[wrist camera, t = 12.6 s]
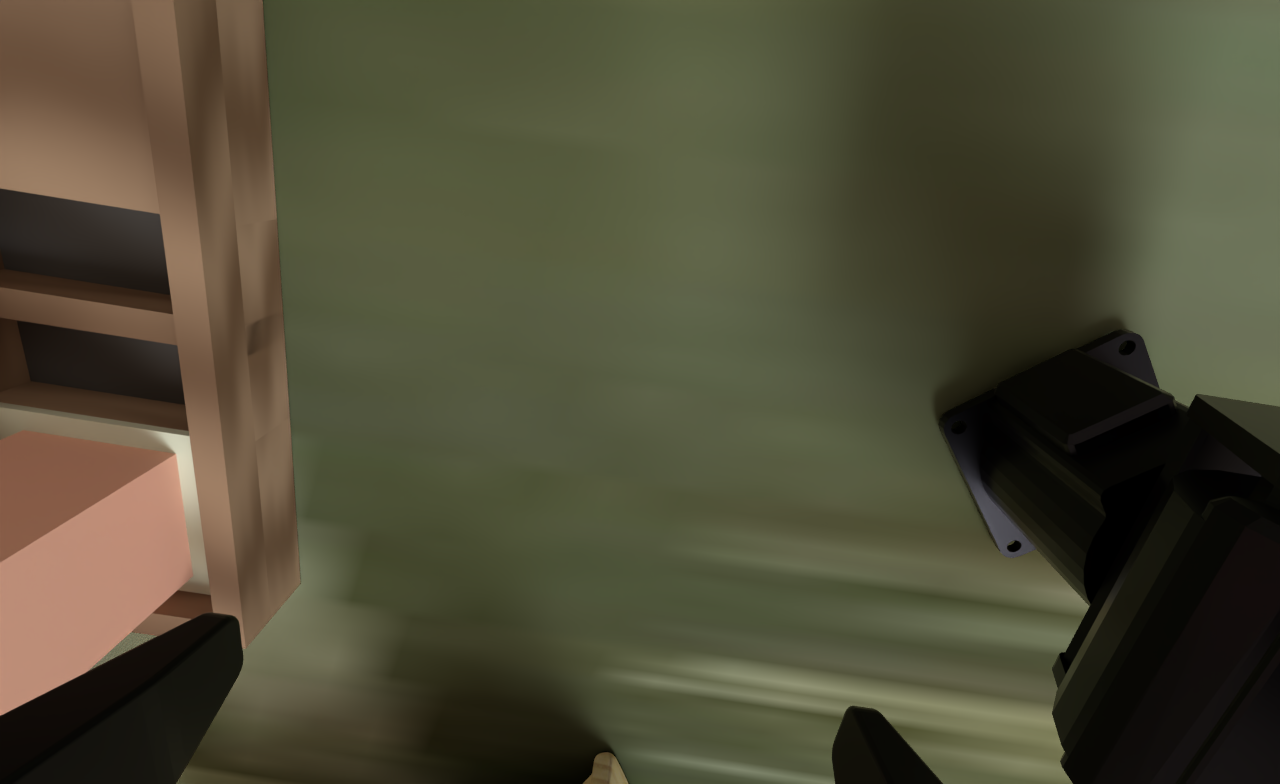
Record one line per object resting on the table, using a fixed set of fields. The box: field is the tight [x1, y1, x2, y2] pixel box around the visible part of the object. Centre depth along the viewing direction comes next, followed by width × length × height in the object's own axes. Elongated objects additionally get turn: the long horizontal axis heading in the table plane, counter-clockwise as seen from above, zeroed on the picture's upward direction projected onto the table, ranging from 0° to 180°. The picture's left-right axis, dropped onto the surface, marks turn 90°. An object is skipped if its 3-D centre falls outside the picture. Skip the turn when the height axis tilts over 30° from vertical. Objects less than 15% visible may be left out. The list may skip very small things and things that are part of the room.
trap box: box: [0, 0, 301, 649], centre depth 19 cm, size 22×10×4 cm, turn 171°
